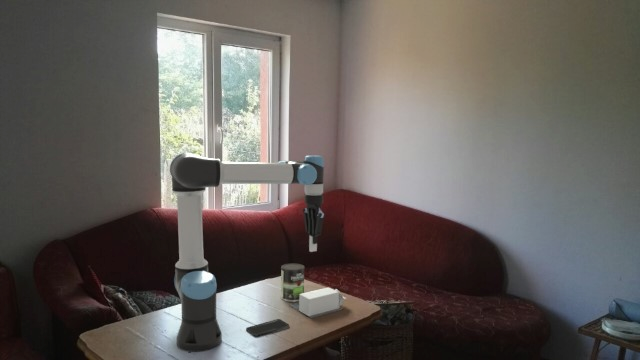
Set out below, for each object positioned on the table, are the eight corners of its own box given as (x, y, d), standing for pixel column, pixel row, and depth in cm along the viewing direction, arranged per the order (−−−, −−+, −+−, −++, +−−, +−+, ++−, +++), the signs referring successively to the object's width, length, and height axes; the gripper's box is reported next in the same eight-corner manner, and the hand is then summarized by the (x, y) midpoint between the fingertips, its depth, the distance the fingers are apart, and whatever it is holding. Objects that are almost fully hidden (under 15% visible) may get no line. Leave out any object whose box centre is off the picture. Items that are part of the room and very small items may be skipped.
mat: (311, 318, 186) (311, 317, 186) (289, 305, 199) (289, 304, 199) (342, 309, 195) (343, 308, 195) (320, 297, 208) (320, 296, 208)
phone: (244, 328, 174) (279, 318, 183) (244, 331, 174) (279, 321, 183) (255, 335, 168) (290, 325, 177) (255, 338, 168) (290, 328, 177)
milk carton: (298, 310, 192) (335, 301, 203) (308, 316, 186) (346, 306, 198) (299, 293, 191) (335, 285, 202) (309, 299, 186) (346, 290, 197)
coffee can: (308, 298, 207) (309, 267, 205) (288, 303, 201) (289, 271, 199) (295, 292, 215) (296, 261, 214) (276, 296, 209) (276, 265, 207)
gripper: (331, 195, 188) (329, 253, 190) (312, 191, 198) (311, 246, 201) (315, 196, 183) (314, 256, 186) (297, 192, 194) (296, 248, 196)
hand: (313, 250), depth 193 cm, fingers closed
